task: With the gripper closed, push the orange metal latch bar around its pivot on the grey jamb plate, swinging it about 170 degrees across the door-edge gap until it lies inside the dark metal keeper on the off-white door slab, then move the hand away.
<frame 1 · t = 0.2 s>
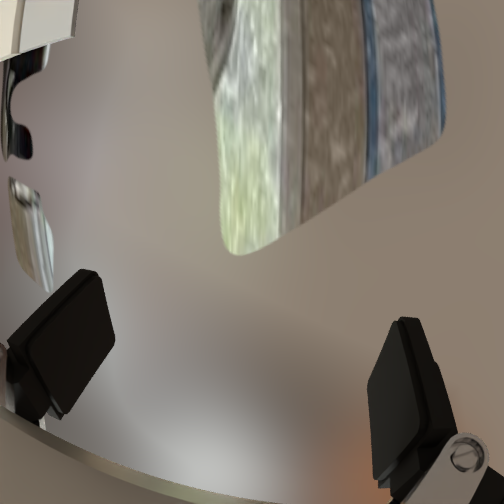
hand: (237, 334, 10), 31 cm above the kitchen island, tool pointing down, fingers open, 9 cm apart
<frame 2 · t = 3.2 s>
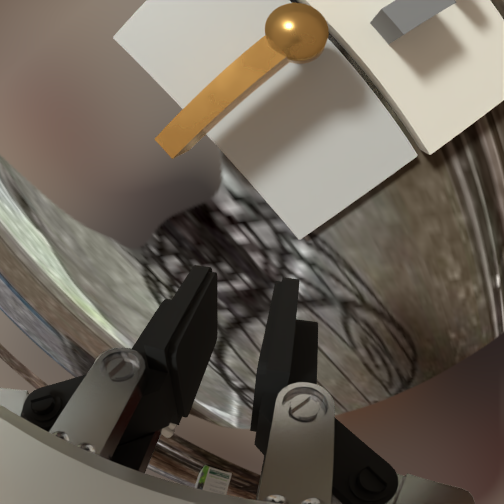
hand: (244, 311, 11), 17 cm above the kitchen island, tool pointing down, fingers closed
door mock-up: (299, 47, 21), on the kitchen island
syrup box: (215, 471, 53), on the kitchen island
latch bar: (241, 79, 18), point 5 cm above the kitchen island, hinge at 90.0°
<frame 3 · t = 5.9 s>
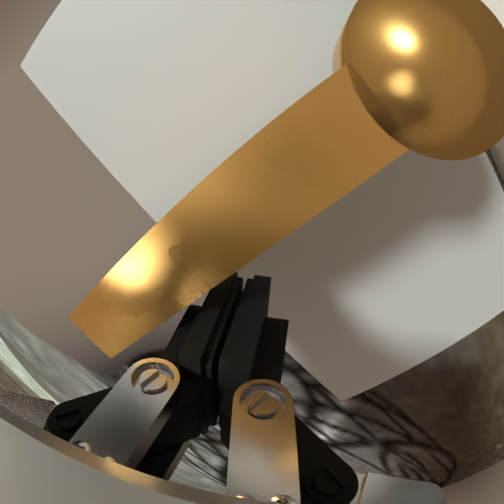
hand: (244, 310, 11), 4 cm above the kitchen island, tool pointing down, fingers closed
door mock-up: (374, 79, 10), on the kitchen island
latch bar: (257, 186, 7), point 5 cm above the kitchen island, hinge at 88.9°, touching gripper
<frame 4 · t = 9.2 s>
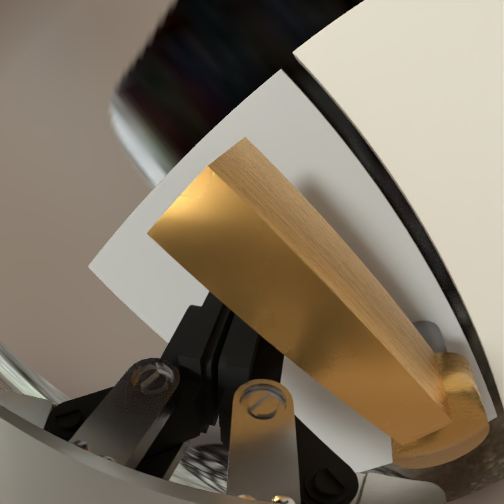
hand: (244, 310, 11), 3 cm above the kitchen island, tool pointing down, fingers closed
door mock-up: (413, 324, 14), on the kitchen island
latch bar: (377, 352, 8), point 5 cm above the kitchen island, hinge at 3.0°, touching gripper
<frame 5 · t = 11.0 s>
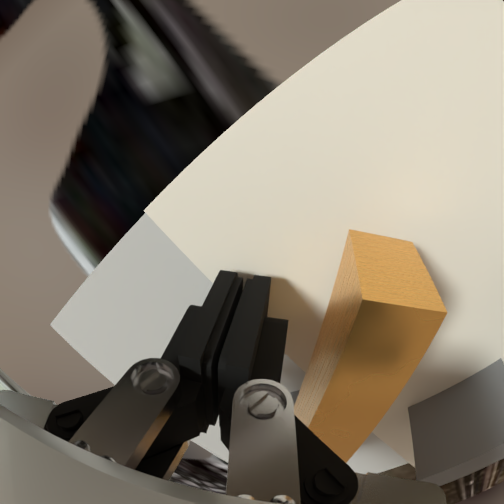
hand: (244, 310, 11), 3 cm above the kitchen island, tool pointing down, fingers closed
door mock-up: (304, 388, 16), on the kitchen island
latch bar: (323, 422, 10), point 5 cm above the kitchen island, hinge at -47.6°, touching gripper
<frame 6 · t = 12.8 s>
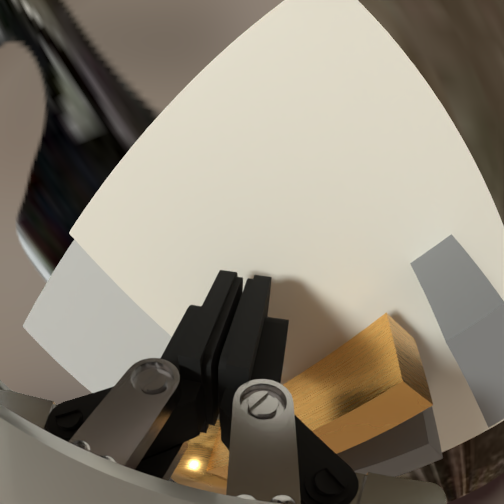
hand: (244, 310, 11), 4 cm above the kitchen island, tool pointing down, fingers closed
door mock-up: (232, 387, 18), on the kitchen island
latch bar: (273, 434, 12), point 5 cm above the kitchen island, hinge at -81.1°
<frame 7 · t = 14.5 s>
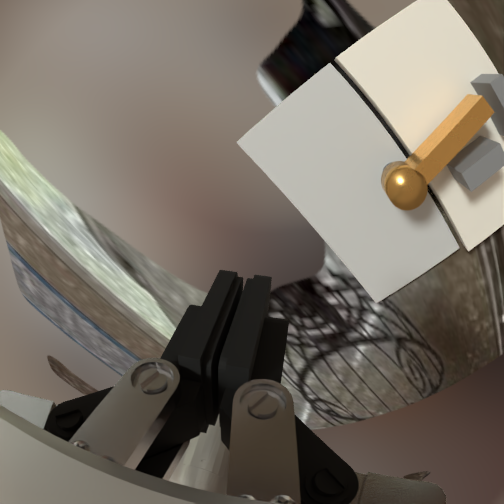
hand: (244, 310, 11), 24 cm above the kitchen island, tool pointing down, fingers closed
door mock-up: (390, 170, 30), on the kitchen island
latch bar: (438, 149, 23), point 5 cm above the kitchen island, hinge at -81.1°
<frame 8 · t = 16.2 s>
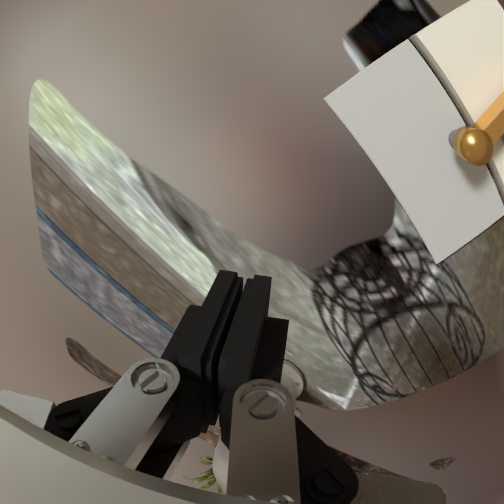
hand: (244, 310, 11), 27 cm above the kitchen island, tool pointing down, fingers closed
door mock-up: (453, 138, 30), on the kitchen island
latch bar: (497, 117, 23), point 5 cm above the kitchen island, hinge at -81.1°
house plant: (230, 431, 61), on the kitchen island
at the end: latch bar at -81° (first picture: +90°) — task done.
